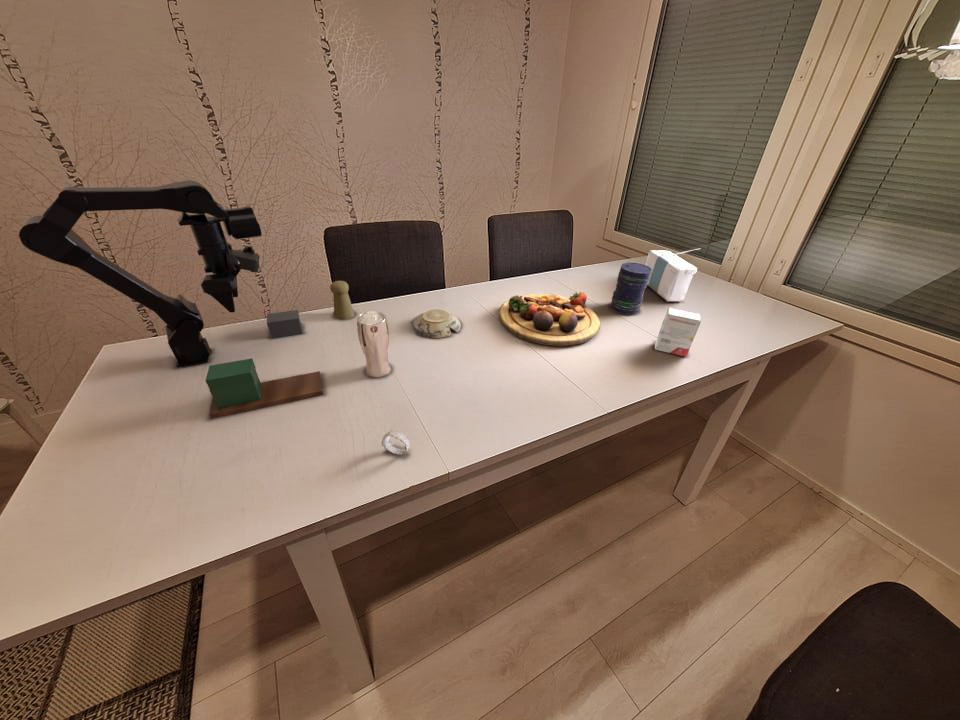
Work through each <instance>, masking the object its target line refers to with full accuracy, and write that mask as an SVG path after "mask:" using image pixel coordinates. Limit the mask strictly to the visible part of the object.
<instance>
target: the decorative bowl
mask: <svg viewBox="0 0 960 720" xmlns="http://www.w3.org/2000/svg"><path fill="white" fill-rule="evenodd" d="M412 326H413V329H414V330H415V331H416V333H417V335H418V336H421V337H424V338H432V339H442V338H446V337H450V336H452V332H451V330H453V331H454V332H455V333H458V332H459V331H460V330H461V322H460V320H459V318H458V317H457V316H455V315H454V314H452V313H450V312H448V311H446V310H444V309H429V310H426V311H424V312H422V313H420V314H419V315H417V316H416V318H415V319H414V320H413V321H412Z"/></svg>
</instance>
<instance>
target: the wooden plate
mask: <svg viewBox="0 0 960 720" xmlns="http://www.w3.org/2000/svg"><path fill="white" fill-rule="evenodd" d="M587 299H588V297H587V294H586V293H585V292H583V291H582V292H581V291H579V292H574V293H572V295H569V297H568V298H567V297H565V296H561V295H559V294H554V293H553V294H546V293H545V294H544V293H543V294H542V293H531V294H524V295H513V296H511V297H510V298H509V300H507V301H506V302H504V303H503V304H502V305H501V307H500V309H499V314H498V317H499V319H500V322H501V323H502V325H503V326H504V328H506V330H508V331H509V332H510V333H511V334H513V335H514V336H517V337H519V338H521V339H523V340H526V341H528V342H532V343H535V344H540V345H545V346H546V345H548V346H555V347H556V346H559V347H561V346H564V347H565V346H566V347H567V346H575V345H579V344H583V343H586V342H588V341H590V340H592V339H593V338H594V337H596V336H597V334H598V333H599V331H600V328H601V321H600V318H599V316H598V315H597V314H596V313H595V312H594V310H593V309H591V308H590V307H588V306H586V303H587Z"/></svg>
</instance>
